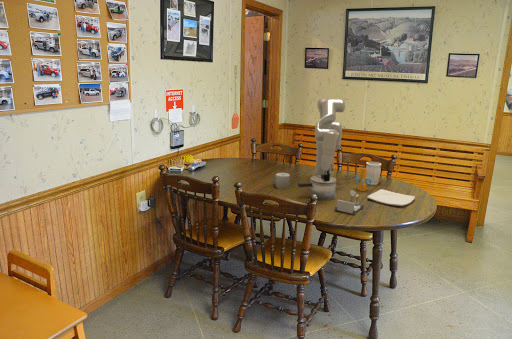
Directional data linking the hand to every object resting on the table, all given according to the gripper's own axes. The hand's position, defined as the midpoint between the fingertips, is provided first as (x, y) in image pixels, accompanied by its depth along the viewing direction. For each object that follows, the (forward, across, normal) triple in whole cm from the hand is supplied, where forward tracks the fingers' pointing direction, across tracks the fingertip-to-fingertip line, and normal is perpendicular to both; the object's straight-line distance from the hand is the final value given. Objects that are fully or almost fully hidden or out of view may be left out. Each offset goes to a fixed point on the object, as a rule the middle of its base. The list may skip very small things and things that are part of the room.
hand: (326, 180), depth 251 cm
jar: (+12, -30, +46) cm, 56 cm away
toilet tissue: (+12, -30, -21) cm, 38 cm away
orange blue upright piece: (+12, -16, +32) cm, 38 cm away
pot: (+12, -6, -4) cm, 14 cm away
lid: (+1, -6, 0) cm, 7 cm away
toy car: (+12, +19, +8) cm, 24 cm away
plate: (+12, +6, +41) cm, 43 cm away
